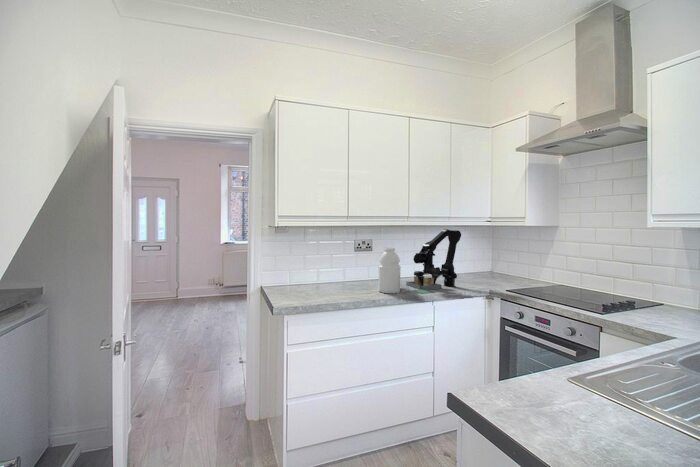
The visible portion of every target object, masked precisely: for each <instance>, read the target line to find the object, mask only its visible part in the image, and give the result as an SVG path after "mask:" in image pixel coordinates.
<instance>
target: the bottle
mask: <svg viewBox="0 0 700 467" xmlns="http://www.w3.org/2000/svg"><path fill="white" fill-rule="evenodd" d="M383 250H384V252H383V253H381V255H380V257H379V260H378V261H379V263H380V264H379V265H378V291H379V293H383V294H398V293H400V292H401V266H400V264H399V263H400V262H401V259H400V257H399V254H397V253H396V252H395V251H396V248H395V247H384V249H383Z"/></svg>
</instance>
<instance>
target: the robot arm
mask: <svg viewBox="0 0 700 467" xmlns="http://www.w3.org/2000/svg"><path fill="white" fill-rule="evenodd" d="M461 237H462V233H461V231H460V230H452V229H446V228H443V229H442V230H441V231H440V232H439V233H438V234H437V235H436V236H434V237H433V239H432V240H429V241H427V242H425V243H423V244H422V247H421V249H420V251H419V252H415V254H414V256H413V259H412V260H413V262H414V264H422V266H423V269H422V271H421V270H415V271H414V272H413V276H416V277H418V279H419V281H420V283H421V285H422V286H423V285H424V277H425V276H427V275H431V278H434V284H433V285H435V283H437V282H436V281H437V279H438V278H439V277H441V276H442V278H444V279H443V285H442V286H443V287H447V288H453V287H454V288H457V287H456V286H457V285H456V284H455V282H456V281H455V280H456V279H457V277H458V275H457V273H456V272H455V266H454V259H455V254H456V250H457V244H458V243H459V241H460V240H461ZM445 238H447V240H448V242H449V243H448V246H447V247H448V249H447V253H446V257H445V262H444V263H442V264H441V266H440V267H439V266H438V267H435V264H433V262H434V260H433V259H434V257H435V256H436V254H435V253H434V252H435V251H436V249H437V247H438V245H439V244H440V243H441V242H442V241H443V240H444V239H445Z"/></svg>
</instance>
